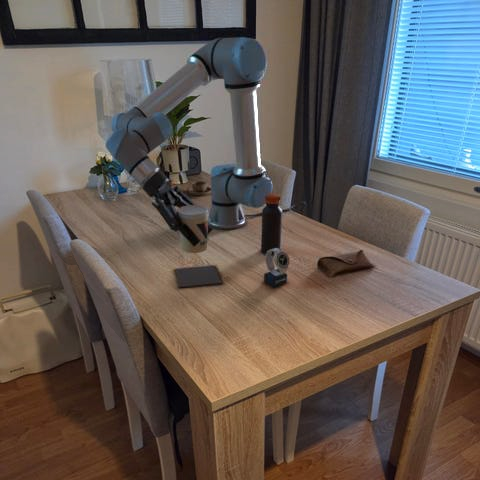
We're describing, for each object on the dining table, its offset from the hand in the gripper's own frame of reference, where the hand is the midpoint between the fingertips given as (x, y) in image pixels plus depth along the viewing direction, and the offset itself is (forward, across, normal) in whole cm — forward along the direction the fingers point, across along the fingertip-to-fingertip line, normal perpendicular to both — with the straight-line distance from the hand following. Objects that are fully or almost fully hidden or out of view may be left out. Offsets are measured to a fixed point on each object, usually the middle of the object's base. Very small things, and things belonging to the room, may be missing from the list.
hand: (203, 237), depth 132 cm
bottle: (+19, -28, 0) cm, 34 cm away
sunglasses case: (+38, -23, +19) cm, 49 cm away
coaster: (+8, 0, -12) cm, 14 cm away
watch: (+25, -4, +6) cm, 26 cm away
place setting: (-21, -87, -40) cm, 98 cm away
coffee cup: (+1, 0, -5) cm, 5 cm away
